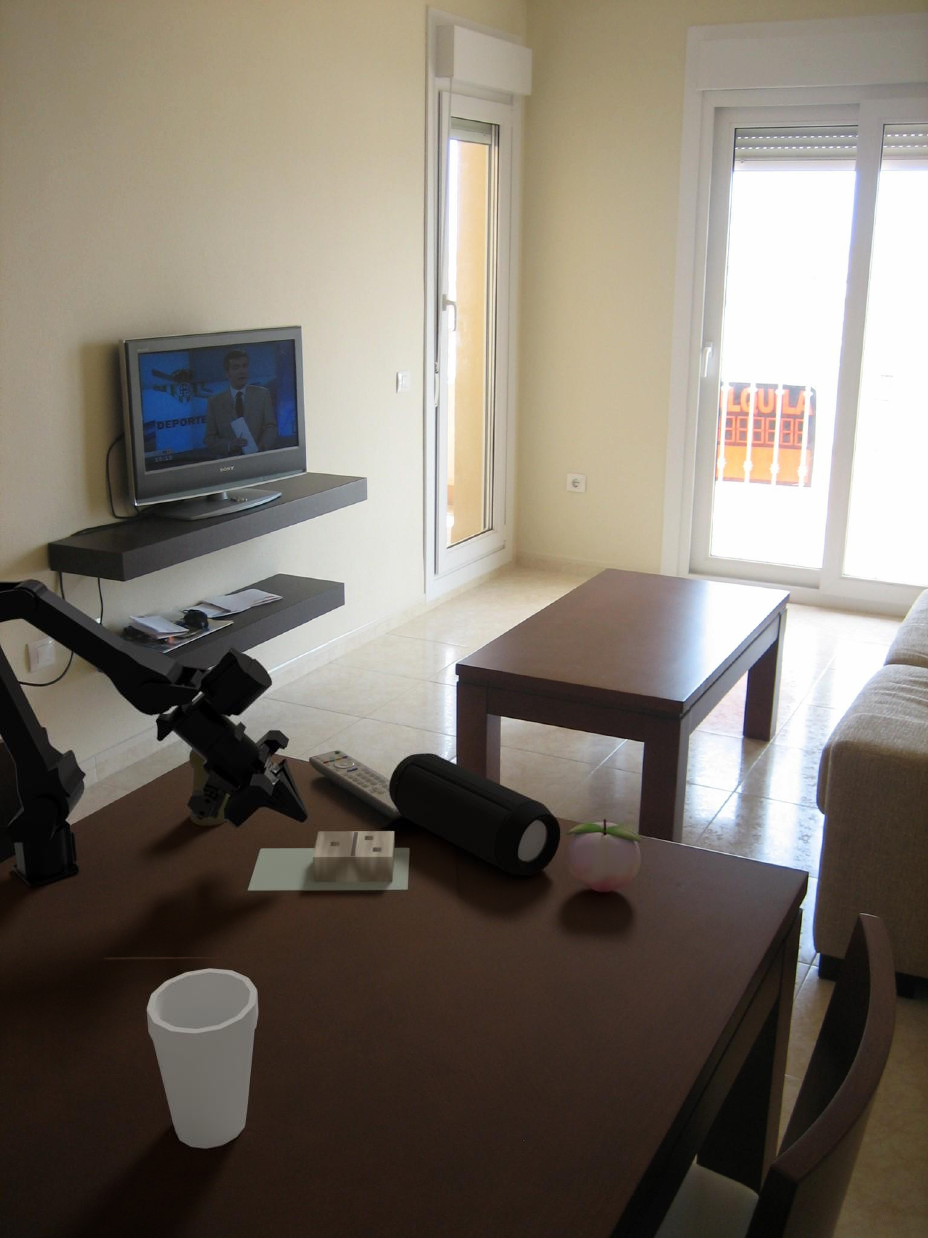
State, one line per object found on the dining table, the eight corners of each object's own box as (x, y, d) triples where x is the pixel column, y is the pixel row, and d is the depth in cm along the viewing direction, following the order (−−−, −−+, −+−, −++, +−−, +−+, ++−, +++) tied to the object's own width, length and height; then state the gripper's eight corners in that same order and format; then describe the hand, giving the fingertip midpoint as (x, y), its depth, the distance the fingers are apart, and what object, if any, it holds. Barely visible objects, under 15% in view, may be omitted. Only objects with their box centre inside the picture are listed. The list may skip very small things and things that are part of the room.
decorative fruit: (637, 876, 148) (641, 805, 145) (640, 909, 140) (644, 835, 138) (564, 872, 149) (567, 802, 146) (563, 905, 141) (566, 831, 138)
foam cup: (167, 1090, 108) (158, 970, 105) (266, 1085, 109) (260, 966, 106) (149, 1164, 99) (138, 1036, 96) (257, 1158, 100) (251, 1031, 97)
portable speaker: (564, 867, 151) (566, 797, 148) (509, 893, 144) (511, 820, 141) (437, 803, 169) (437, 740, 166) (383, 823, 162) (383, 758, 159)
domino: (312, 857, 145) (392, 856, 145) (318, 831, 151) (394, 831, 152) (313, 882, 146) (392, 881, 146) (319, 855, 152) (394, 855, 153)
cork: (223, 828, 160) (219, 755, 157) (183, 824, 161) (178, 752, 158) (240, 810, 166) (236, 739, 163) (200, 806, 167) (196, 735, 164)
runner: (247, 891, 144) (247, 890, 144) (260, 850, 154) (260, 848, 154) (407, 891, 144) (407, 889, 144) (409, 849, 155) (409, 848, 155)
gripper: (187, 750, 154) (271, 826, 157) (154, 812, 136) (250, 896, 140) (244, 696, 152) (329, 774, 156) (219, 751, 134) (315, 838, 138)
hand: (305, 819), depth 147 cm, fingers closed
